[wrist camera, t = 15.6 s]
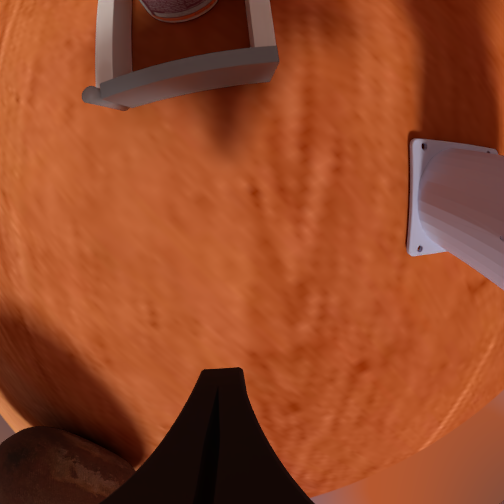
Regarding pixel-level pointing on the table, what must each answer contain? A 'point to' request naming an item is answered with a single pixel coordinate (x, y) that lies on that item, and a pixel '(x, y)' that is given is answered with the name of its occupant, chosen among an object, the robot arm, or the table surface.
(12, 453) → the pottery
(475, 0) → the table surface
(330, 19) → the table surface
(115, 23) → the channel
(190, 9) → the pill bottle
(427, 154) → the robot arm
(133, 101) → the channel cover
